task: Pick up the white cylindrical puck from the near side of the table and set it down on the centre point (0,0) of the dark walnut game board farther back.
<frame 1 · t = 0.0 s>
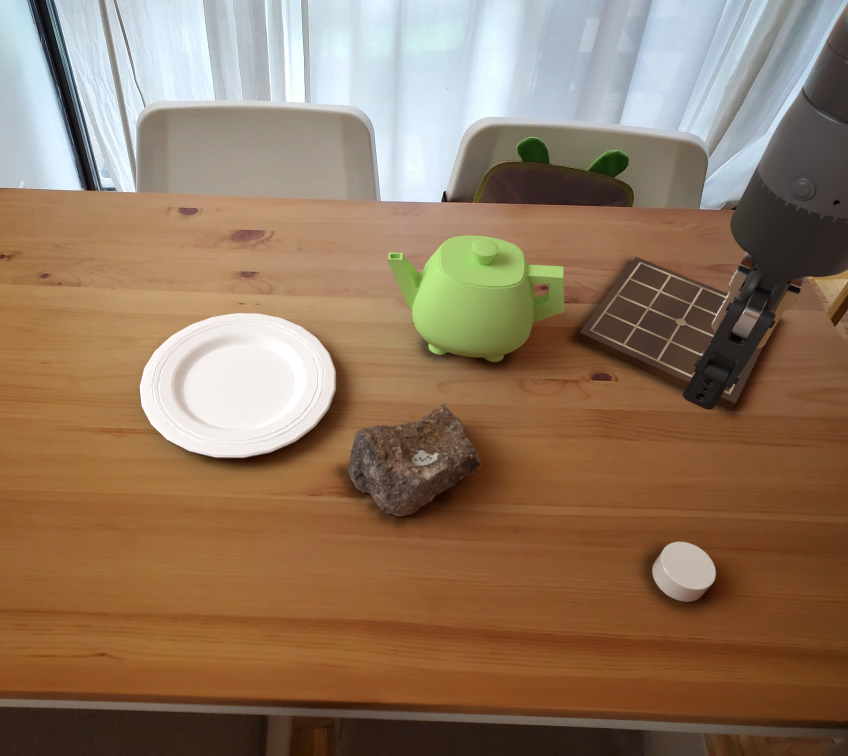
hand: (715, 367, 54), 20 cm above the table, tool pointing down, fingers open, 8 cm apart
teapot: (465, 333, 85), on the table
rock: (418, 468, 72), on the table
board: (677, 330, 86), on the table
white cylindrical puck: (678, 577, 64), on the table
plate: (240, 390, 78), on the table
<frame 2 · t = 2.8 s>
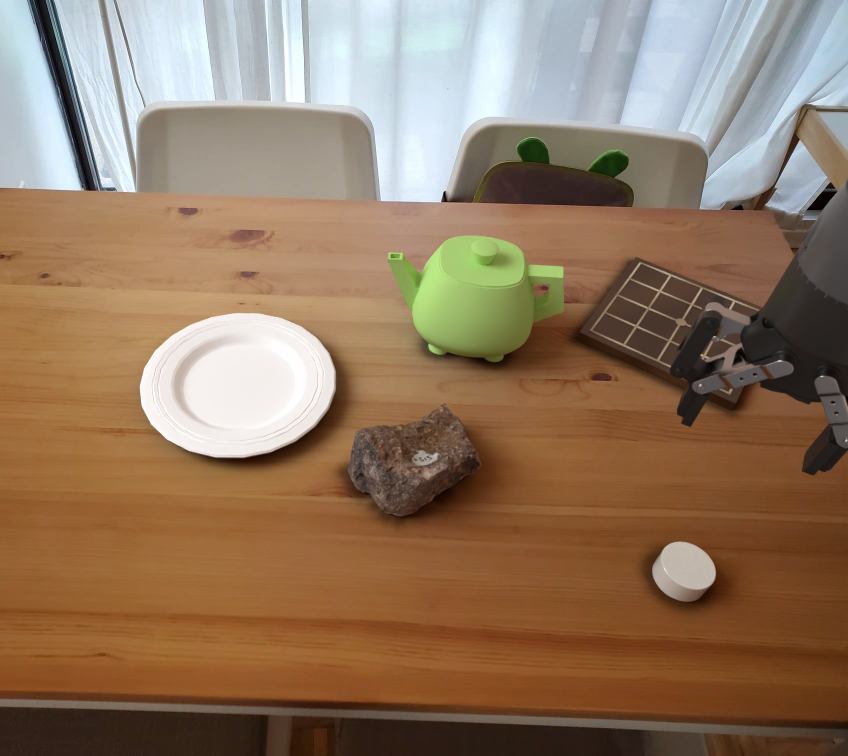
hand: (746, 441, 53), 17 cm above the table, tool pointing down, fingers open, 8 cm apart
nothing on the table moved.
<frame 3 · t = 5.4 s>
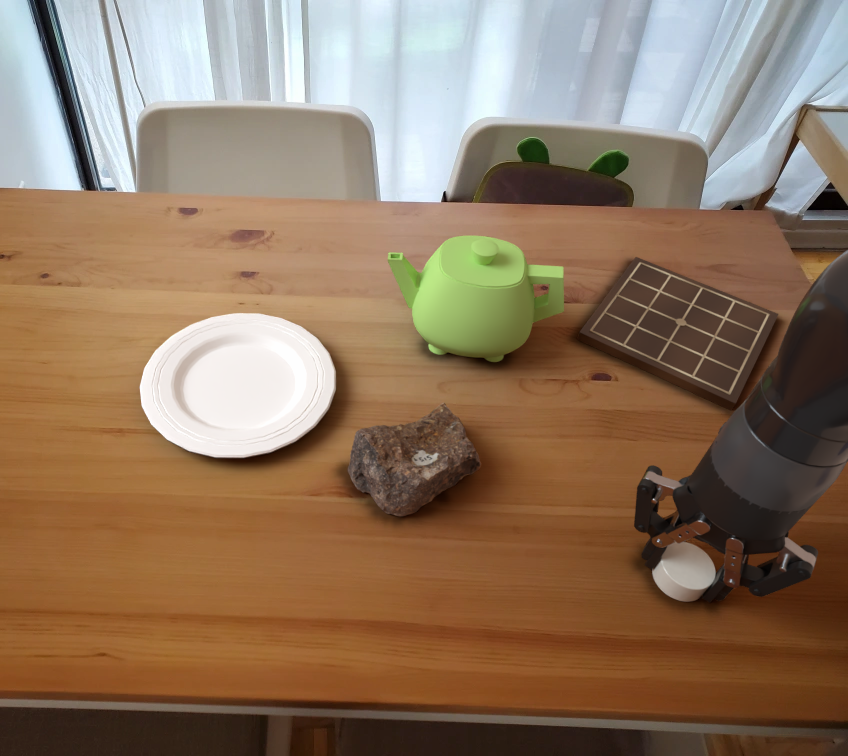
hand: (680, 576, 64), 0 cm above the table, tool pointing down, fingers closed on white cylindrical puck, 4 cm apart
white cylindrical puck: (678, 577, 64), on the table, touching gripper
everything else where it was.
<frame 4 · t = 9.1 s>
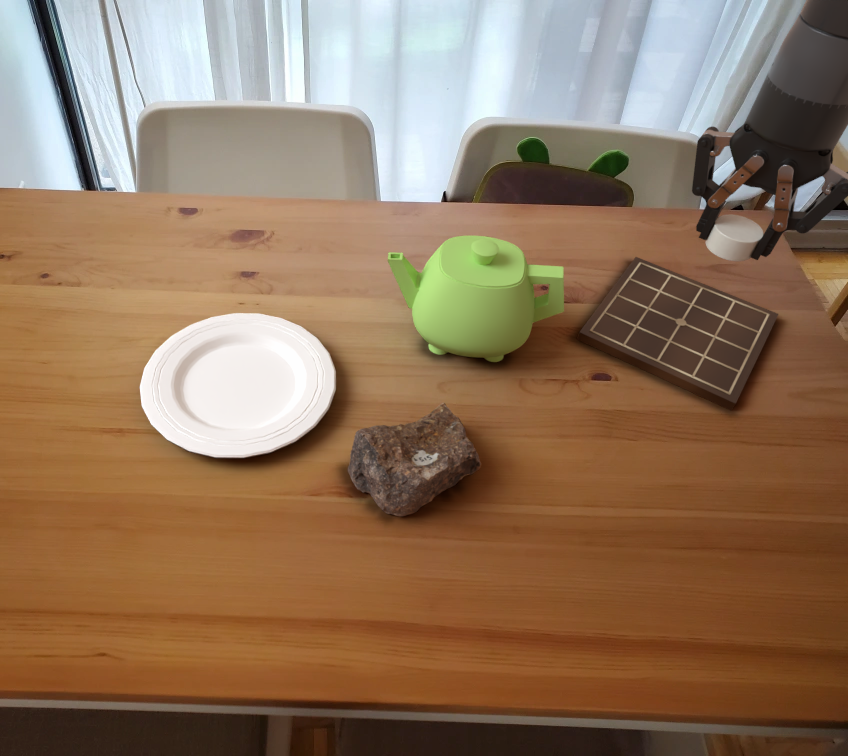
hand: (730, 244, 72), 15 cm above the table, tool pointing down, fingers closed on white cylindrical puck, 4 cm apart
white cylindrical puck: (728, 247, 73), point 15 cm above the table, touching gripper
everything else where it was.
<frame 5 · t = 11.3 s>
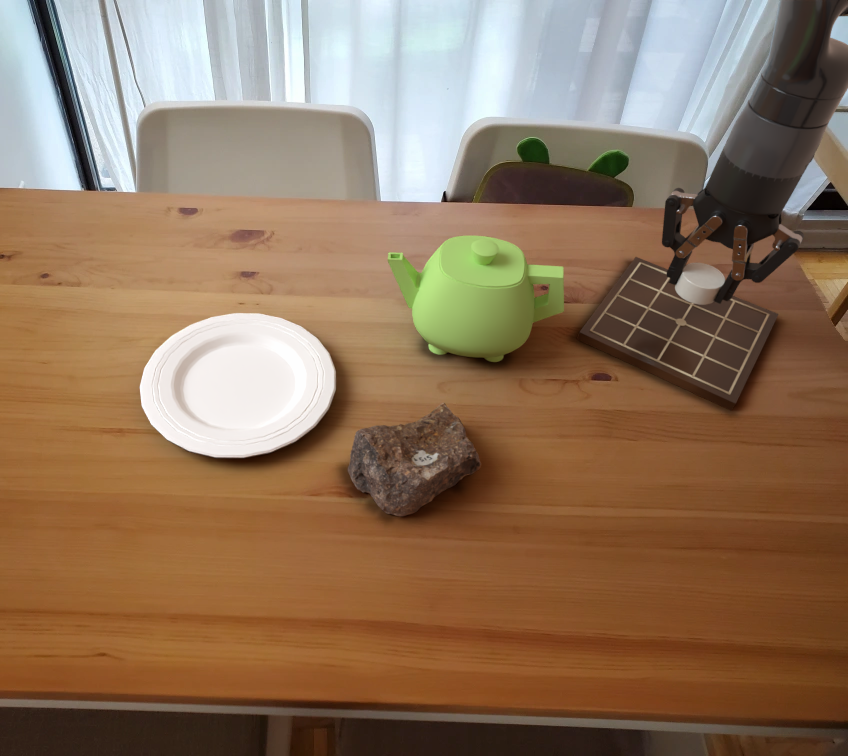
hand: (696, 289, 82), 6 cm above the table, tool pointing down, fingers closed on white cylindrical puck, 4 cm apart
white cylindrical puck: (695, 291, 82), point 6 cm above the table, touching gripper
everything else where it was.
when the fingers open (2 cm above the table, at t = 12.9 s): white cylindrical puck stays where it is, resting on board.
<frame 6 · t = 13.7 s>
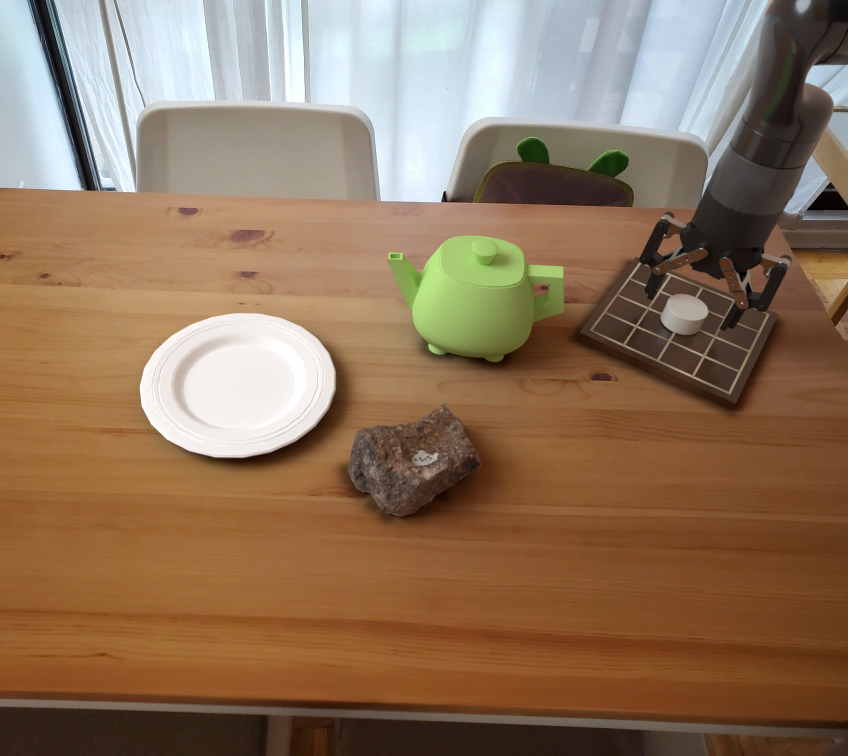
hand: (687, 311, 84), 3 cm above the table, tool pointing down, fingers open, 8 cm apart
white cylindrical puck: (680, 321, 85), point 1 cm above the table, touching board
everything else where it was.
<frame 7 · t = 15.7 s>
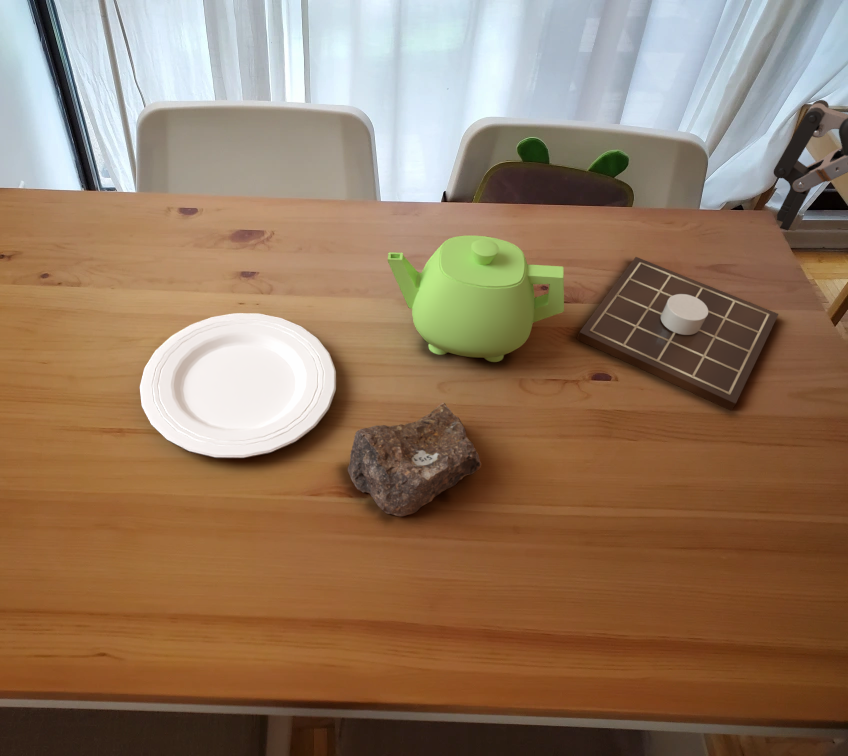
hand: (838, 243, 62), 22 cm above the table, tool pointing down, fingers open, 8 cm apart
nothing on the table moved.
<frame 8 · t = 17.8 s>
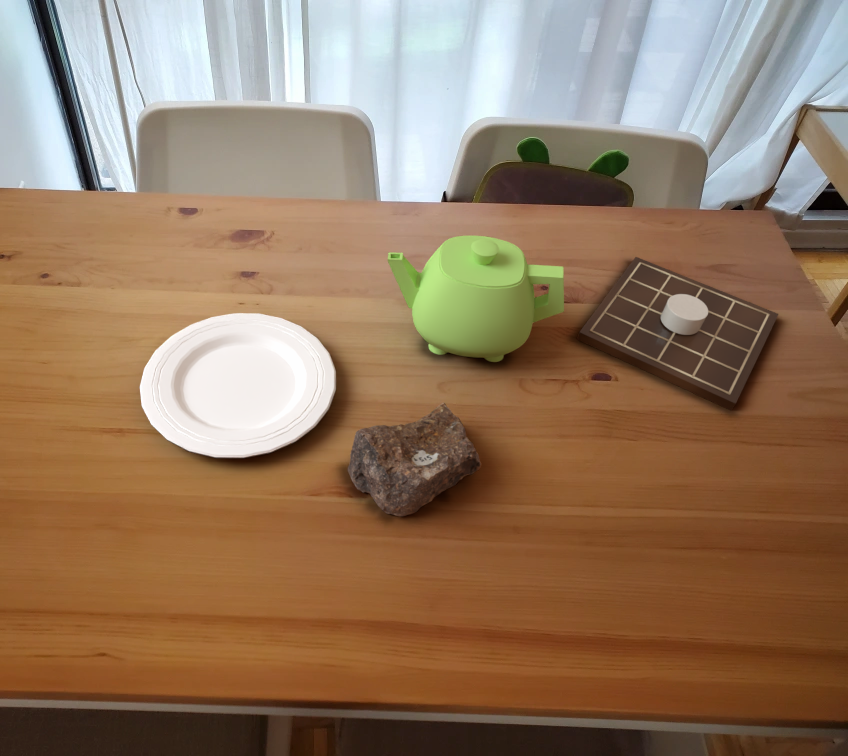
nothing on the table moved.
at the end: white cylindrical puck 0.1 cm off-centre on the board, point 1.3 cm above the board's base; white cylindrical puck tilted 0°; the gripper is holding nothing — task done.
